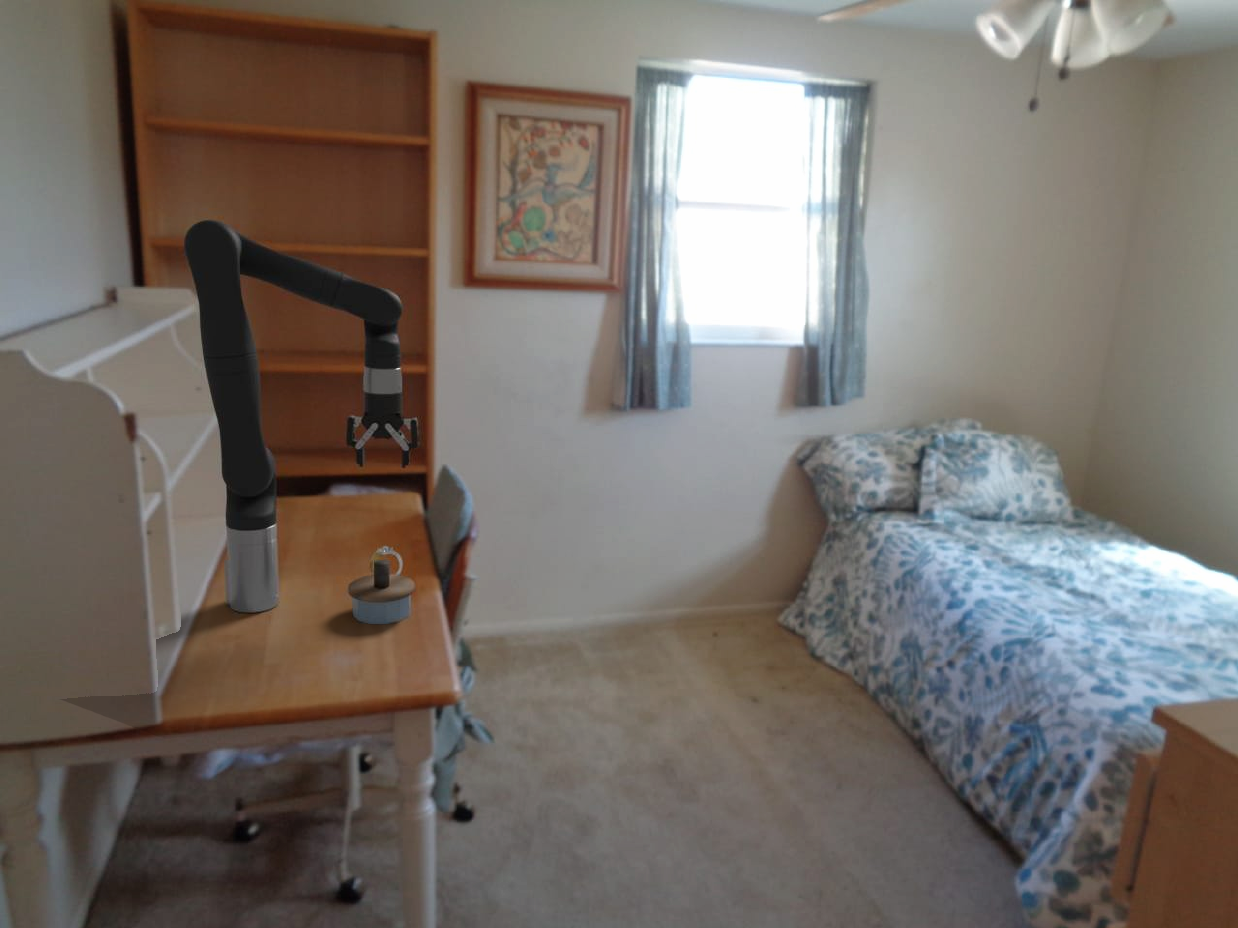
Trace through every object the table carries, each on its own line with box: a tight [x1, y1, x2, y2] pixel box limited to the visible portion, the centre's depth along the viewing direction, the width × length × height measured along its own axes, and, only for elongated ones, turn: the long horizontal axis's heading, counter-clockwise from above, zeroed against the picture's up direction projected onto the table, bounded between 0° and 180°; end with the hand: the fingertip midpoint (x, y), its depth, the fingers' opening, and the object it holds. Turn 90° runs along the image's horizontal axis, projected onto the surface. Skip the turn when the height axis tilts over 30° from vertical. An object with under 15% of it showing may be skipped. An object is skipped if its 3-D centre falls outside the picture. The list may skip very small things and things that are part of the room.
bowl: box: [352, 594, 412, 625], centre depth 174 cm, size 11×11×5 cm
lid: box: [347, 559, 416, 602], centre depth 173 cm, size 13×13×6 cm
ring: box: [369, 545, 404, 575], centre depth 190 cm, size 7×3×8 cm, turn 98°
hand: (383, 466), depth 178 cm, fingers open, 8 cm apart
